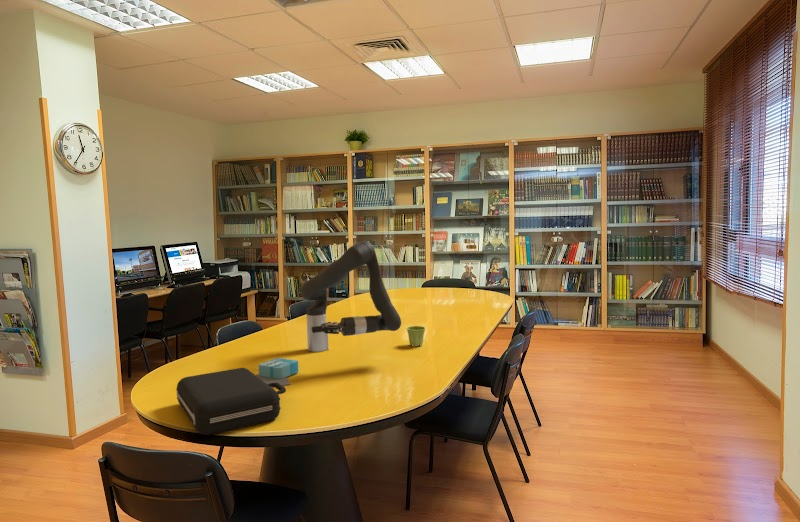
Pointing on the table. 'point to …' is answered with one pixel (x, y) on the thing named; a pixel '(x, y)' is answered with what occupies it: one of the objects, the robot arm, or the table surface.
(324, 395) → the table surface
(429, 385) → the table surface
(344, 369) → the table surface
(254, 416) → the briefcase
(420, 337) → the plant pot
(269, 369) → the data package
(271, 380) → the mat
